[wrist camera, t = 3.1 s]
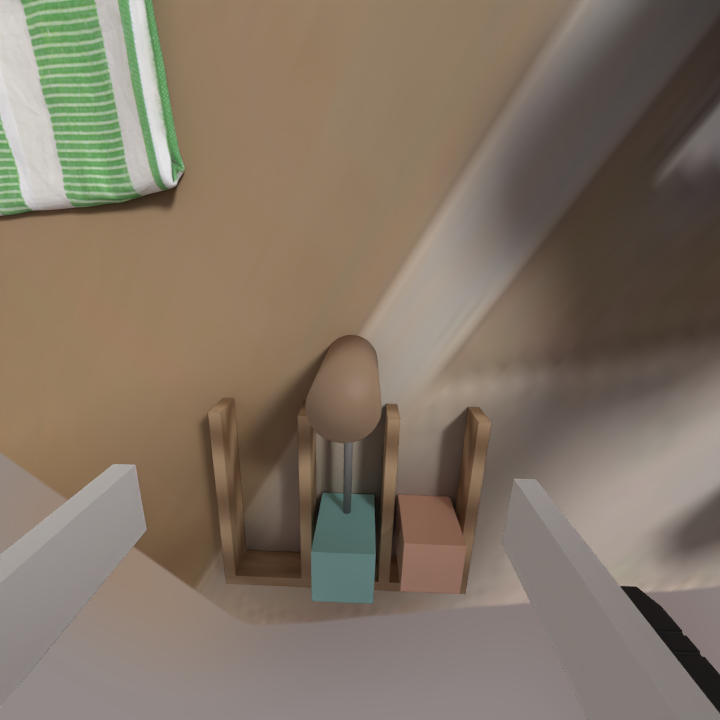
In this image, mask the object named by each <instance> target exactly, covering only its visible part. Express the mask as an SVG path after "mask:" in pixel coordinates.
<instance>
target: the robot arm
mask: <svg viewBox="0 0 720 720" xmlns="http://www.w3.org/2000/svg"><path fill="white" fill-rule="evenodd" d="M146 530H147V528H146V523H145V517H144V511H143V505H142V500H141V494H140V488H139V483H138V477H137V471H136V466H135V465H128V464H113V465H112V466H110V467H109V468H108V469H107V470H105V471H104V472H103V473H102V474H100V475H99V476H98V477H96V478H95V479H94V480H93V481H91V482H90V483H89V484H88V485H86V486H85V487H84V488H83V489H81V490H80V491H79V492H78V493H76V494H75V495H74V496H73V497H71V498H70V499H69V500H68V501H66V502H65V503H64V504H63V505H61V506H60V507H59V508H58V509H56V510H55V511H54V512H53V513H51V514H50V515H49V516H48V517H46V518H45V519H44V520H43V521H41V522H40V523H39V524H38V525H36V526H35V527H34V528H33V529H31V530H30V531H29V532H28V533H26V534H25V535H24V536H22V537H21V538H20V539H19V540H17V541H16V542H15V543H14V544H12V545H11V546H10V547H9V548H7V549H6V550H5V551H4V552H2V553H1V554H0V708H1V707H2V706H3V704H4V703H5V702H6V701H7V699H8V698H9V697H10V696H11V695H12V693H13V692H14V691H15V690H16V688H17V687H18V686H19V685H20V684H21V682H22V681H23V680H24V679H25V678H26V676H27V675H28V674H29V673H30V671H31V670H32V669H33V668H34V667H35V665H36V664H37V663H38V662H39V661H40V659H41V658H42V657H43V656H44V654H45V653H46V652H47V651H48V650H49V648H50V647H51V646H52V645H53V644H54V642H55V641H56V640H57V638H58V637H59V636H60V635H61V634H62V633H63V631H64V630H65V629H66V628H67V626H68V625H69V624H70V623H71V622H72V620H73V619H74V618H75V617H76V615H77V614H78V613H79V612H80V610H81V609H82V608H83V607H84V606H85V604H86V603H87V602H88V601H89V600H90V598H91V597H92V596H93V595H94V594H95V592H96V591H97V590H98V589H99V587H100V586H101V585H102V584H103V583H104V581H105V580H106V579H107V578H108V577H109V575H110V574H111V573H112V572H113V570H114V569H115V568H116V567H117V565H118V564H119V563H120V562H121V561H122V559H123V558H124V557H125V556H126V555H127V553H128V552H129V551H130V550H131V548H132V547H133V546H134V545H135V544H136V542H137V541H138V540H139V539H140V538H141V536H142V535H143V534H144V533H145V531H146ZM502 544H503V546H504V548H505V551H506V553H507V555H508V557H509V559H510V561H511V563H512V565H513V567H514V569H515V571H516V573H517V575H518V577H519V579H520V581H521V584H522V586H523V588H524V590H525V592H526V594H527V596H528V598H529V600H530V602H531V604H532V606H533V608H534V610H535V612H536V614H537V617H538V619H539V620H540V623H541V625H542V627H543V629H544V631H545V633H546V635H547V637H548V639H549V641H550V643H551V645H552V647H553V650H554V652H555V654H556V656H557V658H558V660H559V662H560V664H561V666H562V668H563V670H564V672H565V674H566V676H567V678H568V681H569V683H570V685H571V687H572V689H573V691H574V693H575V695H576V697H577V699H578V701H579V703H580V705H581V707H582V709H583V711H584V713H585V716H586V718H587V720H720V675H719V673H718V672H717V671H716V670H715V669H714V667H713V666H712V665H711V664H710V663H709V662H708V660H707V659H706V658H705V657H702V656H701V655H700V651H699V650H698V649H697V648H696V646H695V645H694V644H693V643H692V642H691V641H690V639H689V638H688V637H687V636H684V635H683V633H682V630H681V629H680V628H679V627H678V625H677V624H676V623H675V622H674V621H673V620H672V618H671V617H670V616H669V615H668V614H667V613H666V612H665V610H663V608H662V607H661V606H660V605H659V604H657V603H656V602H655V601H654V600H652V599H651V598H650V597H649V596H647V595H646V594H645V593H644V592H642V591H641V590H640V589H639V588H637V587H630V586H619V584H618V583H617V582H616V581H615V579H614V578H613V577H612V576H611V574H610V573H609V572H608V570H607V569H606V568H605V567H604V565H603V564H602V563H601V562H600V560H599V559H598V558H597V556H596V555H595V554H594V553H593V551H592V550H591V549H590V548H589V546H588V545H587V544H586V542H585V541H584V540H583V539H582V537H581V536H580V535H579V533H578V532H577V531H576V530H575V528H574V527H573V526H572V525H571V523H570V522H569V521H568V519H567V518H566V517H565V516H564V514H563V513H562V512H561V511H560V509H559V508H558V507H557V505H556V504H555V503H554V502H553V500H552V499H551V498H550V497H549V495H548V494H547V493H546V491H545V490H544V489H543V488H542V486H541V485H540V484H539V483H538V481H537V480H536V479H516V478H514V479H513V485H512V490H511V496H510V501H509V507H508V512H507V518H506V524H505V529H504V535H503V540H502Z"/></svg>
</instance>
